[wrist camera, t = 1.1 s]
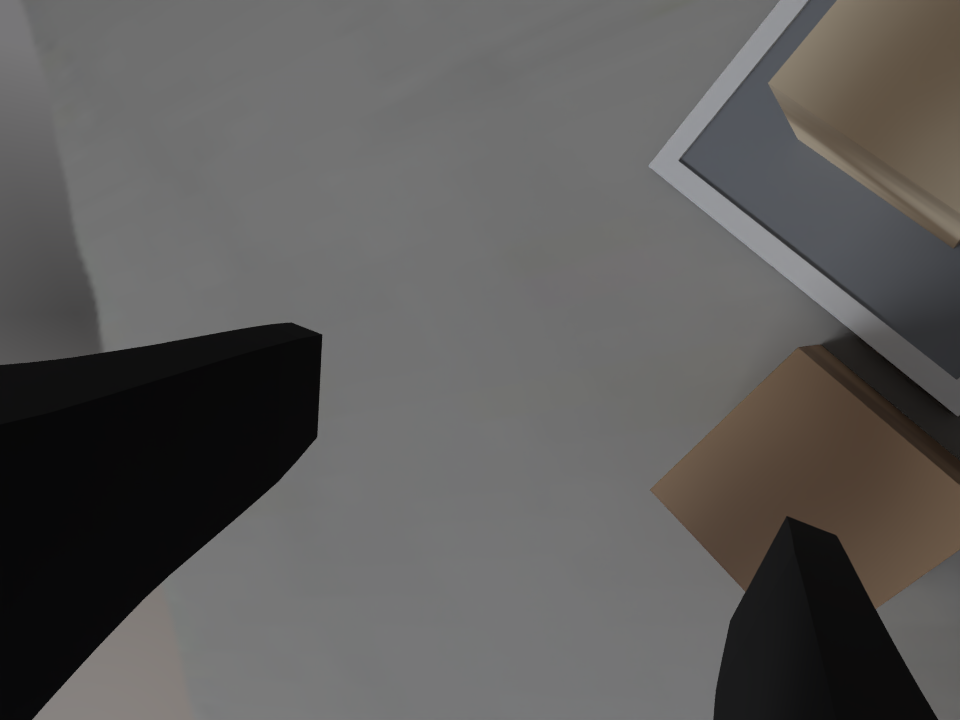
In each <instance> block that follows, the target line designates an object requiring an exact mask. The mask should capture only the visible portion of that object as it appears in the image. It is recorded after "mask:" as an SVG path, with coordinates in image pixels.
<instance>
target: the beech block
mask: <svg viewBox="0 0 960 720" xmlns="http://www.w3.org/2000/svg"><path fill="white" fill-rule="evenodd" d="M768 84H769V86H770V88H771V90H772V92H773V94H774V95H775V97H776V99H777V101H778V103H779V105H780V107H781V109H782V110H783V112H784V114H785V116H786V118H787V120H788V122H789V124H790V125H791V127H792V129H793V131H794V133H795V135H796V137H797V139H798V140H800V141H801V142H803V143H804V144H806V145H807V146H808V147H810V148H811V149H813V150H814V151H815V152H817V153H818V154H820V155H821V156H823V157H824V158H825V159H827V160H828V161H830V162H831V163H832V164H834V165H835V166H837V167H838V168H840V169H841V170H842V171H844V172H845V173H847V174H848V175H849V176H851V177H852V178H854V179H855V180H857V181H858V182H859V183H861V184H862V185H864V186H865V187H867V188H868V189H869V190H871V191H872V192H874V193H875V194H876V195H878V196H879V197H881V198H882V199H884V200H885V201H886V202H888V203H889V204H891V205H892V206H893V207H895V208H896V209H898V210H899V211H901V212H902V213H903V214H905V215H906V216H908V217H909V218H910V219H912V220H913V221H915V222H916V223H918V224H919V225H920V226H922V227H923V228H925V229H926V230H927V231H929V232H930V233H932V234H933V235H935V236H936V237H937V238H939V239H940V240H942V241H943V242H945V243H946V244H947V245H949V246H950V247H952V248H953V249H954V248H955V247H956V246H957V245H958V244H959V243H960V0H837V1H836V2H835V3H834V4H833V6H832V7H831V8H830V9H829V10H828V12H827V13H826V14H825V15H824V16H823V18H822V19H821V20H820V21H819V22H818V24H817V25H816V26H815V27H814V28H813V30H812V31H811V32H810V33H809V34H808V36H807V37H806V38H805V39H804V40H803V42H802V43H801V44H800V45H799V46H798V48H797V49H796V50H795V51H794V52H793V54H792V55H791V56H790V57H789V58H788V60H787V61H786V62H785V63H784V64H783V66H782V67H781V68H780V69H779V70H778V72H777V73H776V74H775V75H774V76H773V78H772V79H771V80H770V81H769V82H768Z"/></svg>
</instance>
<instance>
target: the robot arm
mask: <svg viewBox="0 0 960 720" xmlns="http://www.w3.org/2000/svg"><path fill="white" fill-rule="evenodd" d="M321 350H322V334H319V333H317V332H314V331H312V330H309V329H306V328H304V327H301V326H299V325H296V324H294V323H280V324H271V325H263V326H256V327H250V328H244V329H238V330H232V331H227V332H221V333H216V334H210V335H205V336H199V337H194V338H189V339H183V340H178V341H172V342H167V343H161V344H156V345H150V346H144V347H137V348H131V349H124V350H118V351H112V352H105V353H99V354H93V355H86V356H79V357H73V358H65V359H57V360H48V361H39V362H30V363H19V364H9V365H0V720H32V719H33V718H34V717H35V716H36V715H37V713H38V712H39V711H40V710H41V709H42V708H43V706H44V705H45V704H46V703H47V702H48V701H49V700H50V699H51V698H52V697H53V695H54V694H55V693H56V692H57V691H58V690H59V689H60V688H61V687H62V685H63V684H64V683H65V682H66V681H67V680H68V679H69V678H70V677H71V676H72V674H73V673H74V672H75V671H76V670H77V669H78V668H79V667H80V666H81V664H82V663H83V662H84V661H85V660H86V659H87V658H88V657H89V656H90V655H91V654H92V653H93V651H94V650H95V649H96V648H97V647H98V646H99V645H100V644H101V643H102V642H103V641H104V640H105V639H106V638H107V637H108V635H110V633H112V631H114V629H115V628H116V627H117V626H118V625H119V624H120V623H121V622H122V621H123V620H124V619H125V618H126V617H127V616H128V615H129V614H130V613H131V612H132V611H133V609H135V608H136V607H137V605H138V604H140V602H141V601H142V600H143V599H144V598H145V597H146V596H148V595H149V594H150V593H151V592H152V591H153V590H154V589H155V588H156V587H157V586H158V585H159V584H161V583H162V582H163V581H164V580H165V579H166V578H167V577H168V576H169V575H170V574H171V573H173V572H174V571H175V570H176V569H177V568H179V567H180V566H181V565H182V564H183V563H184V562H186V561H187V560H188V559H189V558H190V557H191V556H193V555H194V554H195V553H196V552H197V551H198V550H200V549H201V548H202V547H203V546H204V545H205V544H207V543H208V542H209V541H210V540H211V539H212V538H214V537H215V536H216V535H217V534H218V533H220V532H221V531H222V530H223V529H224V528H225V527H227V526H228V525H229V524H230V523H231V522H232V521H234V520H235V519H236V518H237V517H238V516H239V515H241V514H242V513H243V512H244V511H245V510H246V509H248V508H249V507H250V506H251V505H252V504H253V503H254V502H256V501H257V500H258V499H259V498H260V497H261V496H262V495H264V494H265V493H266V492H267V491H268V490H269V489H270V488H271V487H273V486H274V485H275V484H276V483H277V482H278V481H279V480H280V479H281V478H282V477H283V476H284V475H285V473H286V472H287V471H288V470H289V469H290V468H291V467H292V466H293V465H294V464H295V463H296V461H297V460H298V459H299V458H300V457H301V456H302V454H303V453H304V452H305V451H306V450H307V448H308V447H309V446H310V445H311V444H312V443H313V441H314V440H315V439H316V438H317V431H318V411H319V390H320V370H321ZM713 720H938V719H937V717H936V715H935V714H934V712H933V710H932V709H931V707H930V705H929V704H928V702H927V700H926V699H925V697H924V695H923V694H922V692H921V690H920V688H919V687H918V685H917V683H916V681H915V680H914V678H913V676H912V675H911V673H910V671H909V669H908V668H907V666H906V664H905V662H904V660H903V659H902V657H901V655H900V653H899V652H898V650H897V648H896V646H895V644H894V643H893V641H892V639H891V637H890V635H889V633H888V632H887V630H886V628H885V626H884V624H883V622H882V620H881V619H880V617H879V615H878V613H877V611H876V609H875V607H874V605H873V603H872V602H871V600H870V598H869V596H868V594H867V592H866V590H865V588H864V586H863V584H862V582H861V581H860V579H859V577H858V575H857V573H856V571H855V569H854V567H853V565H852V563H851V561H850V559H849V557H848V555H847V553H846V552H845V550H844V548H843V546H842V544H841V542H840V540H839V539H838V537H837V535H835V534H832V533H829V532H827V531H824V530H822V529H819V528H817V527H814V526H812V525H809V524H806V523H804V522H801V521H799V520H796V519H794V518H791V517H788V516H786V518H785V520H784V522H783V524H782V525H781V527H780V529H779V531H778V533H777V535H776V537H775V538H774V540H773V542H772V544H771V546H770V548H769V550H768V551H767V553H766V555H765V557H764V559H763V561H762V563H761V564H760V566H759V568H758V570H757V572H756V574H755V576H754V577H753V579H752V581H751V583H750V585H749V587H748V589H747V590H746V592H745V594H744V596H743V598H742V600H741V602H740V604H739V605H738V607H737V609H736V611H735V613H734V615H733V617H732V618H731V620H730V624H729V629H728V634H727V638H726V643H725V648H724V652H723V657H722V662H721V667H720V672H719V677H718V682H717V687H716V695H715V707H714V719H713Z"/></svg>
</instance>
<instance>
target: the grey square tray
mask: <svg viewBox="0 0 960 720" xmlns="http://www.w3.org/2000/svg"><path fill="white" fill-rule="evenodd" d="M836 1H837V0H780V1H779V2H778V4H777V5H776V6H775V7H774V9H773V10H772V11H771V12H770V14H769V15H768V16H767V17H766V19H765V20H764V21H763V22H762V24H761V25H760V26H759V27H758V29H757V30H756V31H755V32H754V34H753V35H752V36H751V38H750V39H749V40H748V41H747V43H746V44H745V45H744V46H743V48H742V49H741V50H740V51H739V53H738V54H737V55H736V56H735V58H734V59H733V60H732V61H731V63H730V64H729V65H728V66H727V68H726V69H725V70H724V71H723V73H722V74H721V75H720V76H719V78H718V79H717V80H716V81H715V83H714V84H713V85H712V87H711V88H710V89H709V90H708V92H707V93H706V94H705V95H704V97H703V98H702V99H701V100H700V102H699V103H698V104H697V105H696V107H695V108H694V109H693V110H692V112H691V113H690V114H689V115H688V117H687V118H686V119H685V120H684V122H683V123H682V124H681V125H680V127H679V128H678V129H677V130H676V132H675V133H674V134H673V136H672V137H671V138H670V139H669V141H668V142H667V143H666V144H665V146H664V147H663V148H662V149H661V151H660V152H659V153H658V154H657V156H656V157H655V158H654V159H653V161H652V162H651V163H650V164H649V167H650V168H651V169H653V170H654V171H655V172H656V173H658V174H659V175H660V176H661V177H662V178H664V179H665V180H666V181H667V182H669V183H670V184H671V185H672V186H674V187H675V188H676V189H677V190H679V191H680V192H681V193H682V194H683V195H685V196H686V197H687V198H688V199H690V200H691V201H692V202H693V203H695V204H696V205H697V206H698V207H700V208H701V209H702V210H703V211H704V212H706V213H707V214H708V215H709V216H711V217H712V218H713V219H714V220H716V221H717V222H718V223H719V224H721V225H722V226H723V227H724V228H725V229H727V230H728V231H729V232H730V233H732V234H733V235H734V236H735V237H737V238H738V239H739V240H740V241H742V242H743V243H744V244H745V245H746V246H748V247H749V248H750V249H751V250H753V251H754V252H755V253H756V254H758V255H759V256H760V257H761V258H763V259H764V260H765V261H766V262H767V263H769V264H770V265H771V266H772V267H774V268H775V269H776V270H777V271H779V272H780V273H781V274H782V275H784V276H785V277H786V278H787V279H788V280H790V281H791V282H792V283H793V284H795V285H796V286H797V287H798V288H800V289H801V290H802V291H803V292H804V293H806V294H807V295H808V296H809V297H811V298H812V299H813V300H814V301H816V302H817V303H818V304H819V305H821V306H822V307H823V308H824V309H825V310H827V311H828V312H829V313H830V314H832V315H833V316H834V317H835V318H837V319H838V320H839V321H840V322H842V323H843V324H844V325H845V326H846V327H848V328H849V329H850V330H851V331H853V332H854V333H855V334H856V335H858V336H859V337H860V338H861V339H863V340H864V341H865V342H866V343H867V344H869V345H870V346H871V347H872V348H874V349H875V350H876V351H877V352H879V353H880V354H881V355H882V356H884V357H885V358H886V359H887V360H888V361H890V362H891V363H892V364H893V365H895V366H896V367H897V368H898V369H900V370H901V371H902V372H903V373H905V374H906V375H907V376H908V377H909V378H911V379H912V380H913V381H914V382H916V383H917V384H918V385H919V386H921V387H922V388H923V389H924V390H926V391H927V392H928V393H929V394H930V395H932V396H933V397H934V398H935V399H937V400H938V401H939V402H940V403H942V404H943V405H944V406H945V407H946V408H948V409H949V410H950V411H951V412H953V413H954V414H955V415H956V416H960V243H959V244H958V245H957V246H956V247H955V248H954V249H953V248H952V247H950V246H949V245H947V244H946V243H945V242H943V241H942V240H940V239H939V238H937V237H936V236H935V235H933V234H932V233H930V232H929V231H927V230H926V229H925V228H923V227H922V226H920V225H919V224H918V223H916V222H915V221H913V220H912V219H910V218H909V217H908V216H906V215H905V214H903V213H902V212H901V211H899V210H898V209H896V208H895V207H893V206H892V205H891V204H889V203H888V202H886V201H885V200H884V199H882V198H881V197H879V196H878V195H876V194H875V193H874V192H872V191H871V190H869V189H868V188H867V187H865V186H864V185H862V184H861V183H859V182H858V181H857V180H855V179H854V178H852V177H851V176H849V175H848V174H847V173H845V172H844V171H842V170H841V169H840V168H838V167H837V166H835V165H834V164H832V163H831V162H830V161H828V160H827V159H825V158H824V157H823V156H821V155H820V154H818V153H817V152H815V151H814V150H813V149H811V148H810V147H808V146H807V145H806V144H804V143H803V142H801V141H800V140H798V139H797V137H796V135H795V133H794V131H793V129H792V127H791V125H790V124H789V122H788V120H787V118H786V116H785V114H784V112H783V110H782V109H781V107H780V105H779V103H778V101H777V99H776V97H775V95H774V94H773V92H772V90H771V88H770V86H769V84H768V82H769V81H770V80H771V79H772V78H773V76H774V75H775V74H776V73H777V72H778V70H779V69H780V68H781V67H782V66H783V64H784V63H785V62H786V61H787V60H788V58H789V57H790V56H791V55H792V54H793V52H794V51H795V50H796V49H797V48H798V46H799V45H800V44H801V43H802V42H803V40H804V39H805V38H806V37H807V36H808V34H809V33H810V32H811V31H812V30H813V28H814V27H815V26H816V25H817V24H818V22H819V21H820V20H821V19H822V18H823V16H824V15H825V14H826V13H827V12H828V10H829V9H830V8H831V7H832V6H833V4H834V3H835V2H836Z"/></svg>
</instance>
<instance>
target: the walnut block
mask: <svg viewBox="0 0 960 720" xmlns="http://www.w3.org/2000/svg"><path fill="white" fill-rule="evenodd" d="M650 490H651V491H652V493H653V494H654V495H655V496H656V497H657V498H658V499H659V500H660V501H661V502H662V503H663V504H664V505H665V506H666V507H667V509H668V510H669V511H670V512H671V513H672V514H673V515H674V516H675V517H676V518H677V519H678V520H679V521H680V522H681V523H682V525H683V526H684V527H685V528H686V529H687V530H688V531H689V532H690V533H691V534H692V535H693V536H694V537H695V538H696V539H697V541H698V542H699V543H700V544H701V545H702V546H703V547H704V548H705V549H706V550H707V551H708V552H709V553H710V554H711V555H712V557H713V558H714V559H715V560H716V561H717V562H718V563H719V564H720V565H721V566H722V567H723V568H724V569H725V570H726V571H727V573H728V574H729V575H730V576H731V577H732V578H733V579H734V580H735V581H736V582H737V583H738V584H739V585H740V586H741V587H742V589H743V590H744V591H745V592H746V590H747V589H748V587H749V585H750V583H751V581H752V579H753V577H754V576H755V574H756V572H757V570H758V568H759V566H760V564H761V563H762V561H763V559H764V557H765V555H766V553H767V551H768V550H769V548H770V546H771V544H772V542H773V540H774V538H775V537H776V535H777V533H778V531H779V529H780V527H781V525H782V524H783V522H784V520H785V518H786V516H788V517H791V518H794V519H796V520H799V521H801V522H804V523H806V524H809V525H812V526H814V527H817V528H819V529H822V530H824V531H827V532H829V533H832V534H835V535H837V537H838V539H839V540H840V542H841V544H842V546H843V548H844V550H845V552H846V553H847V555H848V557H849V559H850V561H851V563H852V565H853V567H854V569H855V571H856V573H857V575H858V577H859V579H860V581H861V582H862V584H863V586H864V588H865V590H866V592H867V594H868V596H869V598H870V600H871V602H872V603H873V605H874V607H875V609H876V608H878V607H879V606H881V605H882V604H883V603H885V602H886V601H888V600H889V599H890V598H892V597H893V596H895V595H896V594H898V593H899V592H900V591H902V590H903V589H905V588H906V587H907V586H909V585H910V584H912V583H913V582H915V581H916V580H917V579H919V578H920V577H922V576H923V575H924V574H926V573H927V572H929V571H930V570H931V569H933V568H934V567H936V566H937V565H939V564H940V563H941V562H943V561H944V560H946V559H947V558H948V557H950V556H951V555H953V554H954V553H956V552H957V551H958V550H960V461H959V460H958V459H957V458H956V457H954V456H953V455H952V454H951V453H950V452H948V451H947V450H946V449H945V448H944V447H942V446H941V445H940V444H939V443H938V442H937V441H935V440H934V439H933V438H932V437H931V436H929V435H928V434H927V433H926V432H925V431H923V430H922V429H921V428H920V427H919V426H917V425H916V424H915V423H914V422H913V421H911V420H910V419H909V418H908V417H907V416H905V415H904V414H903V413H902V412H901V411H899V410H898V409H897V408H896V407H895V406H893V405H892V404H891V403H890V402H889V401H888V400H886V399H885V398H884V397H883V396H882V395H880V394H879V393H878V392H877V391H876V390H874V389H873V388H872V387H871V386H870V385H868V384H867V383H866V382H865V381H864V380H862V379H861V378H860V377H859V376H858V375H856V374H855V373H854V372H853V371H852V370H850V369H849V368H848V367H847V366H846V365H844V364H843V363H842V362H841V361H840V360H839V359H837V358H836V357H835V356H834V355H833V354H831V353H830V352H829V351H828V350H827V349H825V348H824V347H823V346H822V345H821V344H820V345H813V346H805V347H798V348H797V349H796V350H795V351H794V352H793V353H792V354H791V355H790V356H789V357H788V358H787V359H785V360H784V361H783V362H782V363H781V364H780V365H779V366H778V367H777V368H776V369H775V370H774V371H773V372H772V373H771V374H770V375H769V376H768V377H767V378H766V379H765V380H764V381H763V382H762V383H760V384H759V385H758V386H757V387H756V388H755V389H754V390H753V391H752V392H751V393H750V394H749V395H748V396H747V397H746V398H745V399H744V400H743V401H742V402H741V403H740V404H739V405H738V406H737V407H735V408H734V409H733V410H732V411H731V412H730V413H729V414H728V415H727V416H726V417H725V418H724V419H723V420H722V421H721V422H720V423H719V424H718V425H717V426H716V427H715V428H714V429H713V430H712V431H710V432H709V433H708V434H707V435H706V436H705V437H704V438H703V439H702V440H701V441H700V442H699V443H698V444H697V445H696V446H695V447H694V448H693V449H692V450H691V451H690V452H689V453H688V454H687V455H685V456H684V457H683V458H682V459H681V460H680V461H679V462H678V463H677V464H676V465H675V466H674V467H673V468H672V469H671V470H670V471H669V472H668V473H667V474H666V475H665V476H664V477H663V478H662V479H660V480H659V481H658V482H657V483H656V484H655V485H654V486H653V487H652V488H651V489H650Z"/></svg>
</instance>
